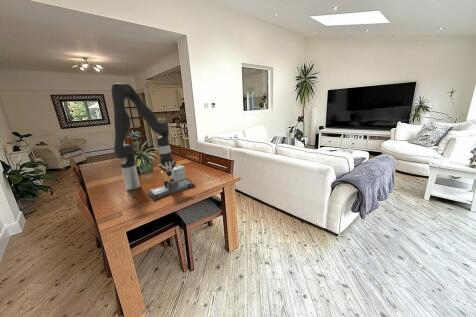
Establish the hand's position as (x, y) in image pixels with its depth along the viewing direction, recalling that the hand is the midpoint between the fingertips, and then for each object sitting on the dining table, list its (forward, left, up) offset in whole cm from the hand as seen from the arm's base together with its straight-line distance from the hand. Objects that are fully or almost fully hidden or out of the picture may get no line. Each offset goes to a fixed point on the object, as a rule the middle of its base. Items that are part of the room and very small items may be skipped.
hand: (169, 175), depth 134 cm
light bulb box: (-15, +11, -11) cm, 22 cm away
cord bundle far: (0, +13, -11) cm, 17 cm away
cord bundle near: (0, -13, -11) cm, 17 cm away
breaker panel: (0, 0, -11) cm, 11 cm away
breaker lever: (0, 0, -7) cm, 7 cm away
